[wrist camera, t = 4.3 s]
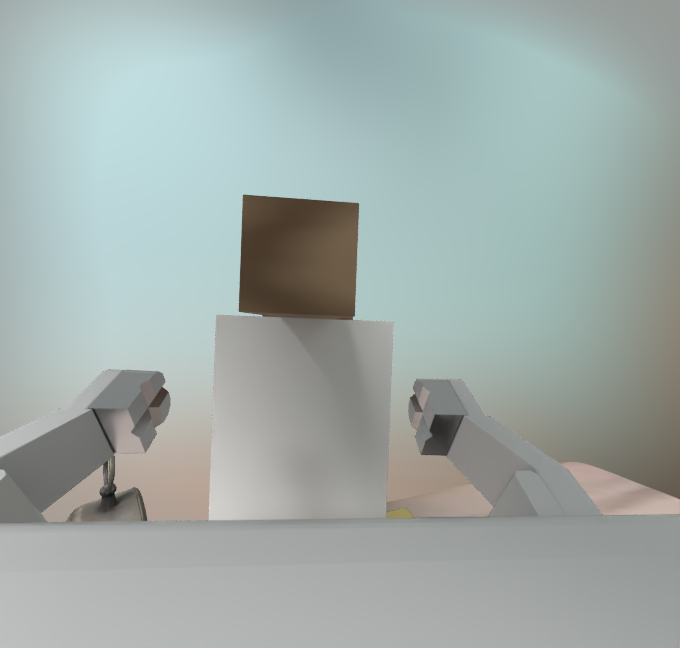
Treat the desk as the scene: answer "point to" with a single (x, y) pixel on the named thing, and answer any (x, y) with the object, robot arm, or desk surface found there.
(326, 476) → the white block
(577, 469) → the desk surface
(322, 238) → the brown block
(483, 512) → the desk surface
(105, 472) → the alarm clock
